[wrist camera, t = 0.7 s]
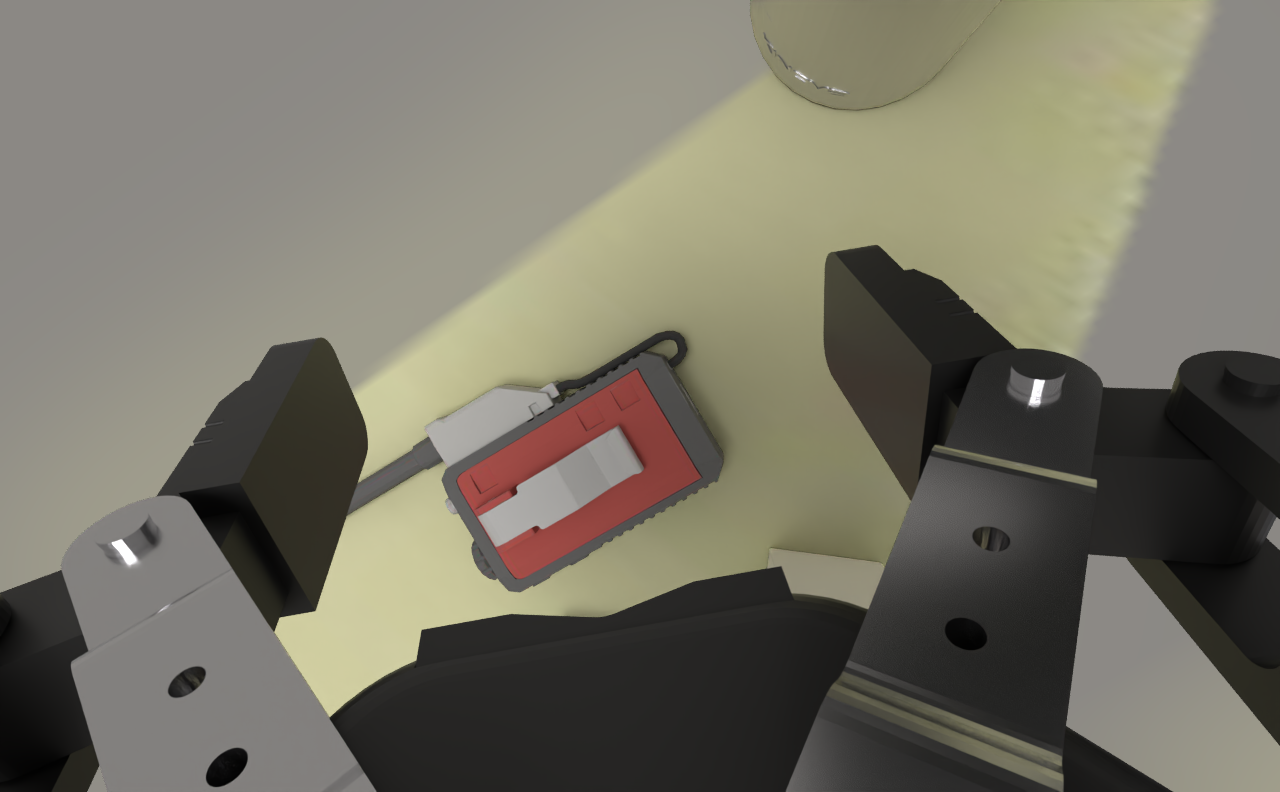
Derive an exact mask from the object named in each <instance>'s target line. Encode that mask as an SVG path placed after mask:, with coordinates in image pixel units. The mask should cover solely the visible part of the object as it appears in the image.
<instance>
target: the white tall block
mask: <svg viewBox="0 0 1280 792" xmlns="http://www.w3.org/2000/svg"><path fill="white" fill-rule="evenodd" d="M779 566H782V569H783V571H784V574H785V577H786V580H787V582H788V585H789V588H790V590H791V593H797V594H809V595H816V596H823V597H829V598H833V599H837V600H841V601H845V602H849V603H852V604H855V605H858V606H860V607H863V608H866V609H869V606H870V604H871V601H872V599H873V596H874V594H875V591H876V589H877V586H878V584H879V581H880V579H881V576H882V574H883V571H884V569H885V568H884V566H883V565H882V564H881V562H874V561H866V560H859V559H851V558H843V557H836V556H828V555H821V554H813V553H805V552H798V551H790V550H783V549H775V548H770V549H769V557H768V565H767V569H768V568H773V567H779Z"/></svg>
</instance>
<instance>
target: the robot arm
mask: <svg viewBox="0 0 1280 792" xmlns="http://www.w3.org/2000/svg"><path fill="white" fill-rule="evenodd" d="M1000 1H1001V0H750V16H751V21H752V26H753V31H754V37H755V39H756V42H757V44H758V46H759V48H760V51H761V53H762V56H763V58H764V59H765V61H766V62H767V64H768V65H769V66H770V68H771V69H772V71H773V72H774V73H775V75H776V76H777V77H778V78H779V79H780V80H781V81H782V82H784V83H785V84H786V85H787V86H788V87H789V88H790V89H791V90H793V91H794V92H796V93H798V94H799V95H801V96H803V97H805V98H807V99H808V100H810V101H812V102H815V103H818V104H821V105H825V106H828V107H832V108H837V109H852V110H860V109H867V108H874V107H881V106H884V105H886V104H889V103H892V102H895V101H897V100H900V99H903V98H905V97H906V96H908V95H909V94H911V93H913V92H914V91H916V90H918V89H919V88H921V87H923V86H924V85H925V84H926V83H927V82H928V81H929V80H931V79H932V78H933V77H934V76H935V75H936V74H937V73H938V72H939V71H940V70H941V69H942V68H943V67H944V66H945V65H946V64H947V62H948V61H949V60H950V59H951V58H952V57H953V55H954V54H955V53H956V52H957V51H958V50H959V48H960V47H961V46H962V45H963V44H964V43H965V41H966V40H967V39H968V38H969V37H970V36H971V35H972V34H973V33H974V31H975V30H976V29H977V28H978V27H979V26H980V24H981V23H982V22H983V21H984V20H985V19H986V17H987V16H988V15H989V14H990V13H991V12H992V10H993V9H994V8H995V7H996V6H997V4H998V3H999V2H1000ZM824 350H825V356H826V360H827V364H828V367H829V370H830V373H831V375H832V376H833V378H834V380H835V381H836V383H837V384H838V386H839V388H840V389H841V391H842V392H843V394H844V396H845V397H846V399H847V400H848V402H849V403H850V405H851V407H852V408H853V410H854V411H855V413H856V415H857V416H858V418H859V419H860V421H861V423H862V424H863V426H864V427H865V429H866V430H867V432H868V434H869V435H870V437H871V438H872V440H873V442H874V443H875V445H876V446H877V448H878V449H879V451H880V453H881V454H882V456H883V457H884V459H885V461H886V462H887V464H888V465H889V467H890V468H891V470H892V472H893V473H894V475H895V476H896V478H897V480H898V481H899V483H900V484H901V486H902V487H903V489H904V491H905V492H906V494H907V495H908V497H909V499H910V500H911V503H910V506H909V508H908V511H907V513H906V516H905V518H904V521H903V523H902V526H901V528H900V531H899V533H898V536H897V538H896V541H895V543H894V546H893V549H892V551H891V554H890V556H889V559H888V561H887V564H886V566H885V569H884V571H883V574H882V576H881V579H880V581H879V584H878V586H877V589H876V591H875V594H874V596H873V599H872V601H871V604H870V606H869V609H866V608H863V607H860V606H858V605H855V604H852V603H849V602H845V601H841V600H837V599H833V598H829V597H823V596H816V595H809V594H797V593H791V590H790V588H789V585H788V582H787V580H786V577H785V574H784V571H783V569H782V566H779V567H773V568H768V569H762V570H756V571H751V572H745V573H740V574H734V575H728V576H723V577H717V578H711V579H706V580H700V581H695V582H692V583H689V584H687V585H684V586H682V587H679V588H677V589H674V590H672V591H669V592H667V593H665V594H662V595H660V596H657V597H655V598H652V599H650V600H647V601H645V602H642V603H640V604H637V605H635V606H632V607H630V608H627V609H625V610H623V611H620V612H618V613H615V614H612V615H609V616H605V617H570V616H545V615H520V614H509V615H503V616H498V617H492V618H486V619H481V620H475V621H469V622H464V623H458V624H452V625H447V626H441V627H436V628H430V629H424V630H422V631H421V637H420V643H419V649H418V655H417V661H415V662H412V663H410V664H408V665H405V666H403V667H401V668H399V669H397V670H396V671H394V672H392V673H390V674H388V675H386V676H384V677H382V678H381V679H379V680H378V681H376V682H375V683H373V684H371V685H370V686H368V687H367V688H365V689H364V690H362V691H361V692H360V693H358V694H357V695H356V696H355V697H353V698H352V699H351V700H349V701H348V702H347V703H345V704H344V705H343V706H342V707H341V708H340V709H339V710H337V711H336V712H335V713H334V714H333V715H332V716H331V717H329V716H328V714H327V713H326V711H325V709H324V708H323V706H322V705H321V703H320V702H319V700H318V699H317V697H316V696H315V694H314V693H313V691H312V690H311V688H310V686H309V685H308V683H307V682H306V680H305V679H304V677H303V676H302V674H301V673H300V671H299V670H298V668H297V666H296V665H295V663H294V662H293V660H292V659H291V657H290V656H289V654H288V653H287V651H286V650H285V648H284V646H283V645H282V643H281V642H280V640H279V639H278V637H277V636H276V634H275V633H274V631H275V628H276V626H277V623H278V620H279V618H280V617H285V616H291V615H296V614H302V613H308V612H313V611H316V608H317V605H318V602H319V599H320V595H321V592H322V589H323V586H324V583H325V580H326V577H327V574H328V571H329V568H330V565H331V562H332V559H333V556H334V553H335V550H336V547H337V544H338V541H339V538H340V535H341V532H342V528H343V525H344V522H345V519H346V516H347V513H348V510H349V507H350V504H351V501H352V498H353V495H354V492H355V489H356V486H357V483H358V480H359V477H360V474H361V471H362V468H363V465H364V461H365V458H366V455H367V450H368V438H367V430H366V426H365V422H364V419H363V416H362V414H361V411H360V409H359V407H358V404H357V402H356V400H355V397H354V395H353V393H352V390H351V388H350V386H349V383H348V381H347V379H346V377H345V374H344V372H343V370H342V367H341V365H340V363H339V360H338V358H337V356H336V353H335V351H334V349H333V348H332V346H331V344H330V343H329V342H328V341H327V340H326V339H324V338H315V339H310V340H304V341H298V342H292V343H286V344H280V345H274V346H272V347H271V348H270V349H269V351H268V352H267V354H266V356H265V357H264V359H263V360H262V362H261V364H260V365H259V367H258V368H257V370H256V371H255V373H254V375H253V376H252V378H251V379H250V381H245V382H244V383H242V384H241V385H240V386H239V387H238V388H236V389H235V390H234V391H233V392H231V393H230V394H229V395H228V396H226V397H225V398H224V399H223V400H221V401H220V402H219V404H218V405H217V406H216V408H215V409H214V411H213V412H212V414H211V415H210V417H209V418H208V420H207V421H206V423H205V425H206V427H205V428H202V429H201V431H200V432H199V434H198V435H197V436H196V438H195V440H194V441H193V443H194V446H190V447H189V448H188V450H187V451H186V453H185V455H184V456H183V457H182V459H181V461H180V462H179V463H178V465H177V467H176V468H175V470H174V471H173V472H172V474H171V475H170V477H169V478H168V480H167V482H166V483H165V484H164V486H163V487H162V489H161V490H160V492H159V493H158V495H157V496H156V497H152V498H147V499H143V500H140V501H137V502H134V503H132V504H129V505H126V506H125V507H122V508H120V509H118V510H116V511H114V512H112V513H111V514H108V515H107V516H105V517H103V518H102V519H100V520H99V521H97V522H95V523H94V524H93V525H91V526H90V527H89V528H87V529H86V530H85V531H84V532H83V533H82V534H81V535H79V536H78V537H77V539H76V540H75V541H74V542H73V543H72V544H71V545H70V547H69V548H68V549H67V551H66V553H65V555H64V557H63V559H62V564H61V569H62V570H60V571H58V572H55V573H52V574H50V575H47V576H44V577H42V578H39V579H36V580H33V581H31V582H28V583H25V584H23V585H20V586H17V587H15V588H12V589H9V590H7V591H4V592H1V593H0V792H87V791H88V789H89V787H90V784H91V782H92V780H93V778H94V775H95V774H96V772H97V769H98V767H99V765H100V768H101V771H102V775H103V778H104V782H105V785H106V788H107V792H1172V791H1171V790H1169V789H1168V788H1166V787H1164V786H1163V785H1161V784H1159V783H1158V782H1156V781H1155V780H1153V779H1151V778H1149V777H1148V776H1146V775H1145V774H1143V773H1142V772H1140V771H1138V770H1137V769H1135V768H1133V767H1132V766H1130V765H1128V764H1127V763H1125V762H1124V761H1122V760H1120V759H1119V758H1117V757H1115V756H1114V755H1112V754H1111V753H1109V752H1107V751H1106V750H1104V749H1102V748H1101V747H1099V746H1097V745H1096V744H1094V743H1093V742H1091V741H1089V740H1088V739H1086V738H1084V737H1083V736H1081V735H1079V734H1078V733H1076V732H1075V731H1073V730H1071V729H1070V728H1068V727H1067V726H1066V721H1067V713H1068V705H1069V698H1070V690H1071V682H1072V675H1073V666H1074V658H1075V652H1076V643H1077V636H1078V628H1079V621H1080V613H1081V605H1082V597H1083V590H1084V582H1085V574H1086V567H1087V559H1088V554H1092V555H1105V556H1117V557H1126V558H1127V559H1128V561H1129V562H1130V563H1131V565H1132V566H1133V567H1134V568H1135V570H1136V571H1137V572H1138V573H1139V574H1140V576H1141V577H1142V578H1143V579H1144V580H1145V582H1146V583H1147V584H1148V585H1149V586H1150V588H1151V589H1152V590H1153V591H1154V592H1155V594H1156V595H1157V596H1158V598H1159V599H1160V600H1161V601H1162V602H1163V604H1164V605H1165V606H1166V607H1167V609H1169V611H1170V612H1171V613H1172V615H1173V616H1174V617H1175V618H1176V619H1177V621H1178V622H1179V623H1180V624H1181V626H1182V627H1183V628H1184V629H1185V631H1186V632H1187V633H1188V634H1189V635H1190V637H1191V638H1192V639H1193V640H1194V642H1195V643H1196V644H1197V645H1198V646H1199V648H1200V649H1201V650H1202V651H1203V653H1204V654H1205V655H1206V656H1207V657H1208V658H1209V660H1210V661H1211V662H1212V664H1213V665H1214V666H1215V667H1216V668H1217V670H1218V671H1219V672H1220V673H1221V674H1222V676H1223V677H1224V678H1225V679H1226V681H1227V682H1228V683H1229V684H1230V686H1232V688H1233V689H1234V690H1235V692H1236V693H1237V694H1238V695H1239V696H1240V698H1241V699H1242V700H1243V701H1244V703H1245V704H1246V705H1247V706H1248V707H1249V708H1250V710H1251V711H1252V712H1253V714H1254V715H1255V716H1256V717H1257V719H1258V720H1259V721H1260V722H1261V723H1262V725H1263V726H1264V727H1265V728H1266V729H1267V730H1268V732H1269V733H1270V734H1271V736H1272V737H1273V738H1274V739H1275V740H1276V742H1277V743H1278V744H1279V745H1280V550H1279V549H1277V547H1275V546H1274V545H1273V544H1272V543H1271V542H1270V541H1269V540H1268V539H1267V538H1266V537H1267V535H1268V533H1269V531H1270V529H1271V527H1272V525H1273V523H1274V521H1275V519H1276V517H1278V518H1279V519H1280V359H1278V358H1275V357H1271V356H1267V355H1262V354H1257V353H1250V352H1241V351H1213V352H1206V353H1200V354H1197V355H1194V356H1191V357H1190V358H1188V359H1186V360H1185V361H1184V362H1183V363H1182V364H1181V365H1180V367H1179V369H1178V372H1177V375H1176V378H1175V381H1174V384H1173V387H1172V389H1132V388H1105V387H1103V384H1102V381H1101V379H1100V378H1099V376H1098V375H1097V374H1096V372H1094V371H1093V370H1092V369H1091V368H1090V367H1088V366H1087V365H1085V364H1084V363H1082V362H1080V361H1078V360H1076V359H1074V358H1071V357H1069V356H1066V355H1063V354H1059V353H1056V352H1051V351H1046V350H1038V349H1016V348H1015V347H1014V346H1013V345H1012V344H1011V343H1010V342H1009V341H1008V340H1007V339H1005V338H1004V337H1003V336H1002V335H1001V334H1000V333H999V332H998V331H997V330H996V329H994V328H993V327H992V326H991V325H990V324H989V323H988V322H987V321H986V320H985V319H983V318H982V317H981V316H980V315H979V314H978V313H974V311H973V309H972V308H971V307H970V306H969V305H968V304H967V303H966V302H965V301H964V300H959V296H958V295H957V294H956V293H955V292H954V291H953V290H952V289H950V288H949V287H948V286H947V285H946V284H945V283H944V282H943V281H942V280H939V279H937V278H934V277H932V276H929V275H927V274H925V273H922V272H920V271H917V270H915V269H911V270H905V271H904V270H903V269H902V268H901V267H900V266H899V265H898V264H897V263H896V262H895V261H894V260H893V259H892V258H891V257H890V256H889V255H888V254H887V253H886V252H885V251H884V250H883V249H882V248H881V247H879V246H878V245H873V246H867V247H861V248H855V249H849V250H843V251H837V252H831V253H829V254H828V256H827V259H826V263H825V285H824Z"/></svg>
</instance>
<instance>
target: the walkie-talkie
mask: <svg viewBox="0 0 1280 792" xmlns="http://www.w3.org/2000/svg"><path fill="white" fill-rule="evenodd" d="M669 339H670V340H674V341H675V342H676V343H677V347H678V353H677V354H676V355H675V356H674V357H673V358H672V359H670V360H669V361H668V359H667V357H666V356H665V355H662V354H657V353H653V352H648V351H645V350H647V349H649V348H650V347H652V346H654V345H655V344H657V343H659V342H661V341H664V340H669ZM644 351H645V352H644ZM686 352H687V347H686V343H685V340H684V338H683V337H682V336H681V335H680V334H679V333H677V332H675V331H665V332H661V333H657V334H655V335H654V336H652V337H650V338H649V339H647V340H645V341H644V342H642V343H640V344H639V345H637V346H635V347H634V348H632V349H631V350H629V351H627V352H626V353H624V354H622V355H621V356H619V357H617V358H616V359H614V360H612V361H611V362H609V363H607V364H606V365H604V366H602V367H601V368H599V369H597V370H595V371H594V372H592V373H590V374H588V375H587V376H585V377H583V378H581V379H578V380H567V381H564V382H561V383H559V382H558V381H554V382H552V383H550V384H548V385H547V386H545V387H543V388H535V387H527V386H518V385H507V384H506V385H502V386H498V387H495V388H493V389H492V390H490V391H488V392H487V393H485V394H483V395H482V396H480V397H479V398H477V399H475V400H474V401H472V402H470V403H469V404H467V405H465V406H464V407H462V408H460V409H459V410H457V411H455V412H454V413H452V414H450V415H447V416H444V417H441V418H438V419H436V420H434V421H433V422H431V423H430V424H428V425H427V426H425V431H426V433H427V434H428V436H429V437H427V438H426V439H424V440H423V441H421V442H420V443H418V444H416V445H415V446H413V450H412V451H410V452H409V453H407V454H405V455H404V456H402V457H400V458H399V459H397V460H395V461H394V462H392V463H391V464H389V465H387V466H386V467H384V468H382V469H381V470H379V471H377V472H376V473H374V474H373V475H371V476H369V477H368V478H366V479H364V480H363V481H361V482H359V483H358V484H357V486H356V489H355V492H354V495H353V498H352V501H351V504H350V507H349V510H348V513H347V515H348V514H350V513H352V512H353V511H355V510H357V509H358V508H360V507H362V506H363V505H365V504H367V503H368V502H370V501H372V500H373V499H375V498H377V497H378V496H380V495H382V494H383V493H385V492H387V491H388V490H390V489H391V488H393V487H395V486H396V485H398V484H400V483H401V482H403V481H405V480H406V479H408V478H410V477H411V476H413V475H415V474H416V473H418V472H420V471H421V470H423V469H427V470H428V469H430V468H432V467H433V466H435V465H437V464H438V463H440V462H442V461H444V462H445V464H446V466H447V467H448V469H446V470H445V473H444V475H443V478H442V482H443V485H444V488H445V490H446V493H447V495H448V497H449V498H448V499H446V506H447V508H448V510H449V511H450V512H451V513H452V514H457V513H458V514H459V515H460V517H461V519H462V520H463V522H464V523H465V525H466V527H467V528H468V530H469V532H470V533H471V535H472V537H473V538H474V542H473V544H472V555H473V558H474V562H475V564H476V566H477V567H478V569H479V570H480V571H481V573H482V574H483V575H485V576H486V577H488V578H489V579H493V580H496V579H497V578H498V580H499V581H500V582H501V583H502V584H503V585H504V586H505V588H506V589H507V590H508V591H513V592H522V591H523V590H525V589H527V588H529V587H531V586H532V585H533V587H534V586H536V585H537V584H539V583H541V582H543V581H545V580H546V579H548V578H550V576H551V575H552V574H554V573H555V572H557V571H559V570H561V569H563V568H564V567H566V566H568V565H573V564H575V563H577V562H578V561H580V560H582V559H584V558H586V557H587V556H588V555H589V554H590V553H591V552H593V551H595V550H596V549H598V548H600V547H602V545H603V543H605V542H606V541H608V542H610V541H612V540H613V538H614V537H615V536H617V535H618V536H621V535H623V532H624V531H626V530H632V529H633V528H634V526H635V525H637V524H638V523H639V524H640V525H641V524H643V523H644V520H646V519H647V518H653V517H654V516H655V514H656V513H658V512H664V511H665V509H666V508H667V507H669V506H675V505H676V502H678V501H679V500H681V499H682V500H683V501H684V500H685V499H686V498H687V496H688V495H690V494H692V493H693V494H696V493H697V491H698V490H699V489H701V488H703V487H704V488H707V487H708V484H710V483H711V482H713V481H715V482H717V481H718V478H719V474H720V471H721V468H722V465H723V452H722V450H721V448H720V447H719V445H718V443H717V442H716V440H715V438H714V437H713V435H712V433H711V432H710V430H709V428H708V426H707V425H706V423H705V421H704V420H703V418H702V416H701V415H700V413H699V411H698V410H697V408H696V406H695V405H694V403H693V401H692V399H691V398H690V396H689V394H688V393H687V391H686V389H685V388H684V386H683V384H682V383H681V381H680V379H679V378H678V376H677V374H676V372H675V371H674V369H673V367H675V366H676V365H678V364H679V363H680V362H681V361H682V360H683V359H684V358H685V356H686ZM639 354H640V356H639V357H638V356H637V355H639ZM635 356H636V357H635ZM627 361H629V363H628V362H627ZM625 362H627V363H625ZM617 367H618V368H617ZM615 368H617V369H615ZM605 374H607V375H605ZM596 380H597V381H596ZM585 385H586V387H584V388H582V389H580V390H578V391H576V393H574V394H572V395H570V396H568V397H566V398H565V399H564V400H562V399H561V397H560V395H561V394H563V393H564V390H566V389H576V388H580V387H583V386H585Z"/></svg>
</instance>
